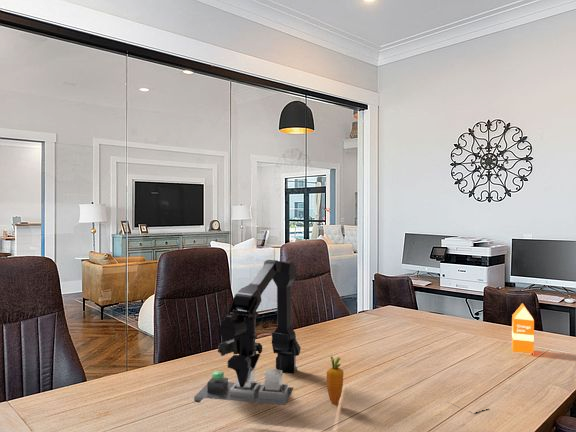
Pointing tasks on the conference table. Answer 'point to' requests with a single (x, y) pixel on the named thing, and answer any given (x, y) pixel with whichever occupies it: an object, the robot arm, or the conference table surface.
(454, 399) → the conference table surface
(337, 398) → the carrot
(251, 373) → the aluminium block
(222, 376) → the button
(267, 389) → the block
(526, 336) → the orange juice
